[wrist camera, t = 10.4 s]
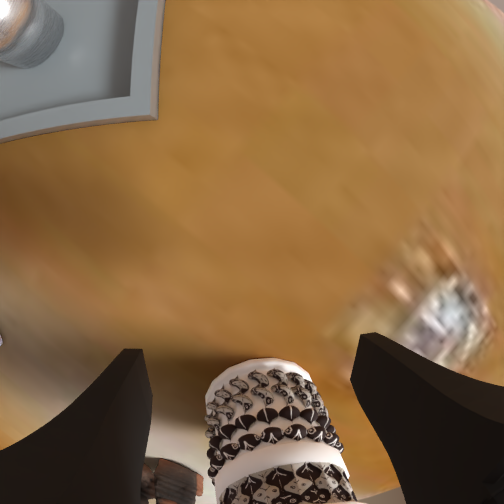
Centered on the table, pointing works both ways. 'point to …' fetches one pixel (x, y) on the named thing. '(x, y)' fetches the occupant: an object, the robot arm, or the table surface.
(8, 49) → the shaker
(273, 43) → the table surface
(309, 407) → the decorative candle
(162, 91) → the table surface
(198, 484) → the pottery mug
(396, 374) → the robot arm
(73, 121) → the tray
